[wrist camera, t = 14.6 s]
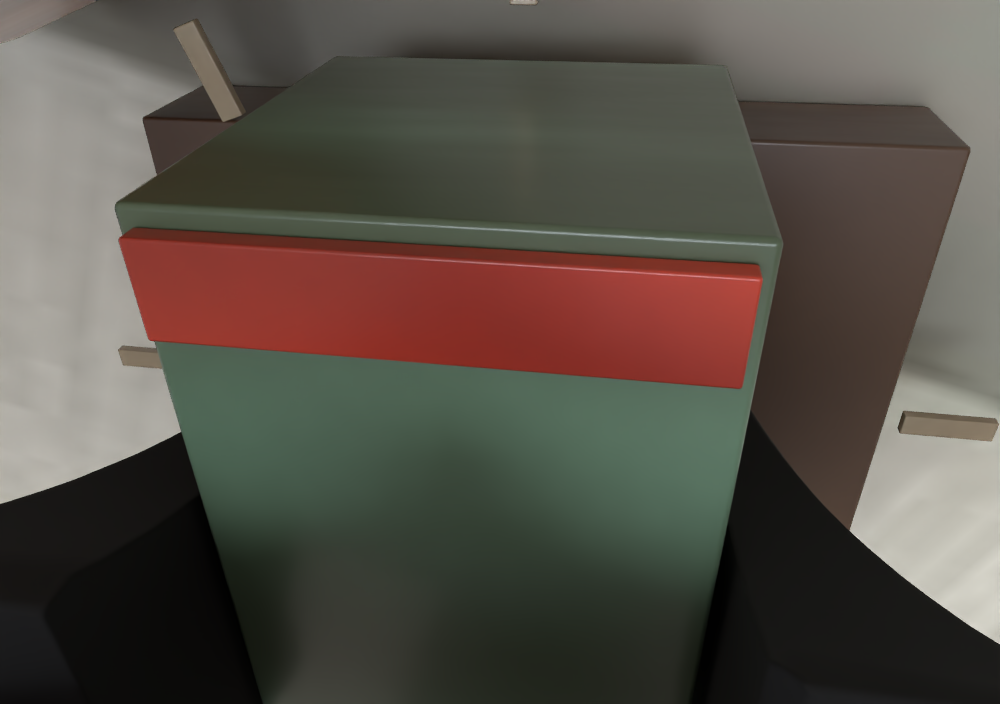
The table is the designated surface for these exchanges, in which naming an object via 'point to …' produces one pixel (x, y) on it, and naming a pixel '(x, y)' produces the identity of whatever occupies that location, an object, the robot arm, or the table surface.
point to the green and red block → (466, 371)
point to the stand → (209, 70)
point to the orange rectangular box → (33, 15)
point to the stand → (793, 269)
